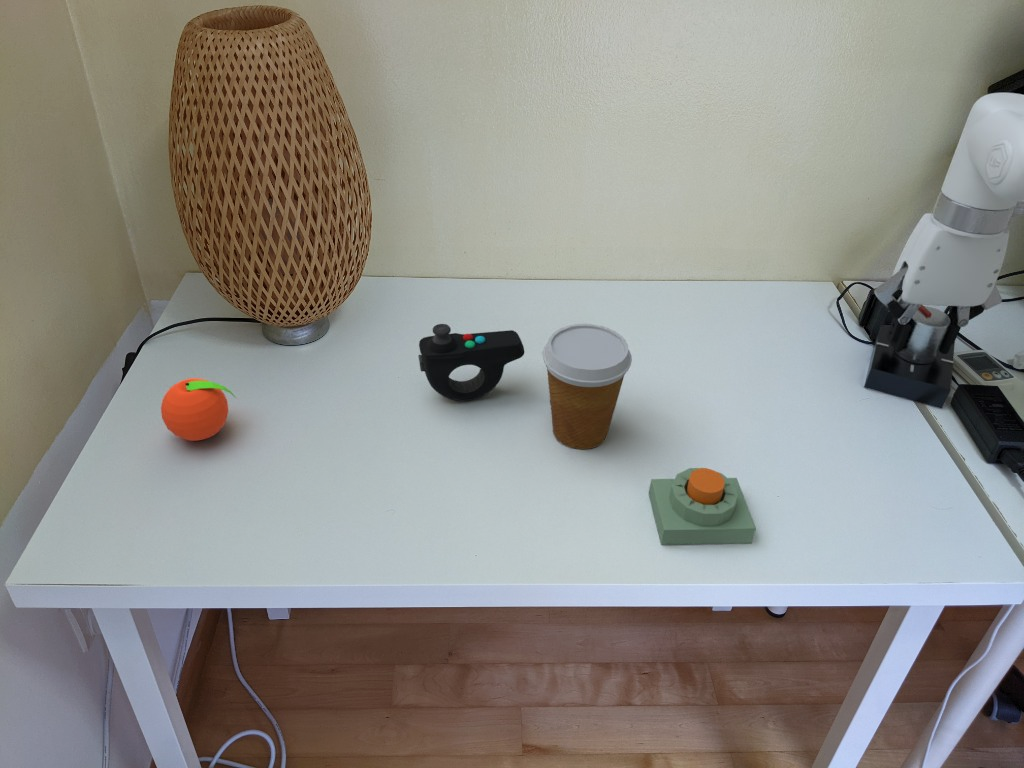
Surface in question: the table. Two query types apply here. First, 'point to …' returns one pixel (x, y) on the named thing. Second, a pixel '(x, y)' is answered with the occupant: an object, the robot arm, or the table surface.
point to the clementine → (195, 409)
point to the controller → (467, 360)
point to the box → (699, 513)
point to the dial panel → (909, 374)
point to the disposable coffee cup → (584, 381)
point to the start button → (705, 486)
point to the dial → (925, 335)
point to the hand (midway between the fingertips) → (917, 345)
